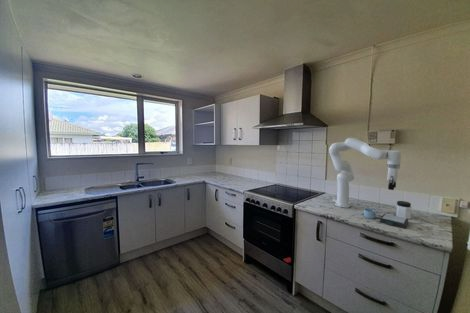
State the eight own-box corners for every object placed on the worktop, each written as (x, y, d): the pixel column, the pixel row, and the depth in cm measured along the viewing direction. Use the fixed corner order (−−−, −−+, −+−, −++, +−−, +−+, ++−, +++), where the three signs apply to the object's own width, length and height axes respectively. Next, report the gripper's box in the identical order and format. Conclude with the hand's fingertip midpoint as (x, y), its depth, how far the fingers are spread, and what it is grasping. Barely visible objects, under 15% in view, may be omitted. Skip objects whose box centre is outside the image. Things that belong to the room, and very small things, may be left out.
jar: (402, 214, 153) (403, 200, 152) (413, 218, 145) (414, 203, 144) (392, 215, 152) (393, 200, 151) (402, 219, 144) (403, 204, 143)
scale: (379, 222, 138) (380, 218, 138) (384, 217, 149) (384, 212, 148) (405, 229, 128) (405, 224, 127) (407, 222, 138) (408, 218, 138)
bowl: (362, 216, 149) (363, 210, 149) (365, 214, 154) (365, 207, 154) (373, 219, 144) (374, 212, 144) (376, 217, 149) (376, 210, 148)
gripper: (389, 165, 150) (387, 185, 152) (385, 167, 139) (383, 189, 140) (401, 165, 145) (399, 187, 146) (398, 168, 133) (396, 191, 135)
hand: (391, 188), depth 143 cm, fingers open, 9 cm apart
